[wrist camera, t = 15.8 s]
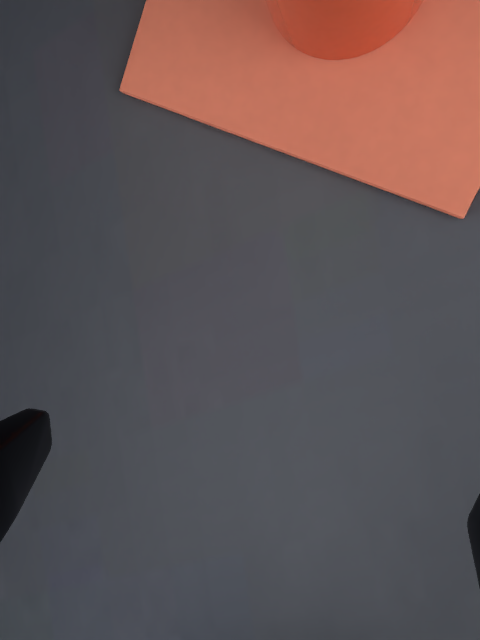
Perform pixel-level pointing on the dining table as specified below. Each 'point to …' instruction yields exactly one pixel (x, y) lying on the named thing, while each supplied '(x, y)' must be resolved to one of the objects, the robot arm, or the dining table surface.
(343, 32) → the terracotta tumbler
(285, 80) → the terracotta mat
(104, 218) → the dining table surface
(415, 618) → the dining table surface
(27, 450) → the robot arm
